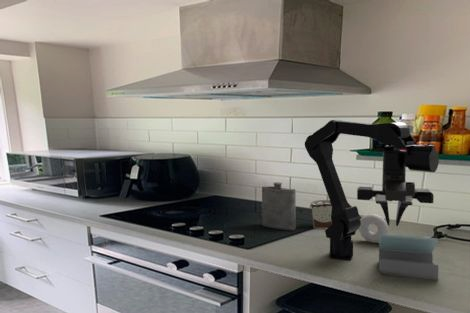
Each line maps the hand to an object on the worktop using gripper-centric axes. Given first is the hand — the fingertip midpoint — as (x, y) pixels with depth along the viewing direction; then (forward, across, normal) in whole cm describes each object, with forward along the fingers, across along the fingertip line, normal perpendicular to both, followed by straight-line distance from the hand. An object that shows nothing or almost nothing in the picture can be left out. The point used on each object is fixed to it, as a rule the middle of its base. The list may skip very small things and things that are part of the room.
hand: (392, 225), depth 101 cm
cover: (+6, +4, +2) cm, 8 cm away
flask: (+13, -39, +33) cm, 53 cm away
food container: (+13, -22, +40) cm, 48 cm away
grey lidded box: (+13, +4, +2) cm, 14 cm away
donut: (+13, -4, +24) cm, 28 cm away
